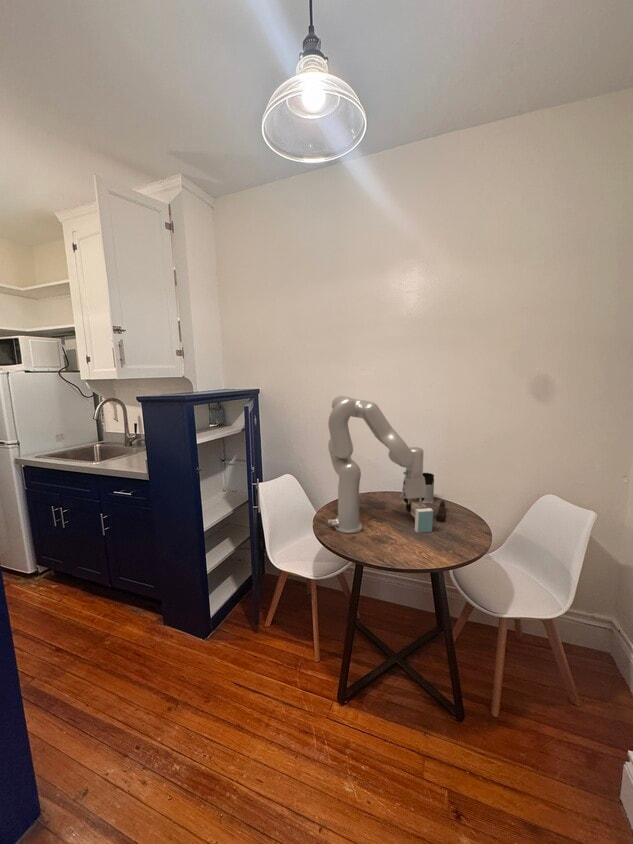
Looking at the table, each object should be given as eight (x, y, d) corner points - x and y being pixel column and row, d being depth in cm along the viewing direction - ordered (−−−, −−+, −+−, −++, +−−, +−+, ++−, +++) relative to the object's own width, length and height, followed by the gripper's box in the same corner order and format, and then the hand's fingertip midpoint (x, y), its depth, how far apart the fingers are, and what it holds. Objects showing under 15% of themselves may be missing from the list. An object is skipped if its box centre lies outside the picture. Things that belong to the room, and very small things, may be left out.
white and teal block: (417, 533, 141) (418, 511, 140) (414, 530, 144) (415, 509, 142) (432, 531, 143) (433, 510, 141) (429, 528, 145) (430, 508, 144)
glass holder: (436, 503, 174) (437, 477, 173) (409, 503, 176) (410, 476, 174) (431, 498, 183) (432, 472, 181) (406, 497, 184) (406, 472, 182)
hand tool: (444, 523, 151) (444, 514, 151) (435, 521, 153) (435, 512, 152) (448, 509, 168) (448, 500, 167) (440, 507, 170) (440, 499, 169)
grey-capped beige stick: (418, 520, 144) (418, 507, 143) (401, 505, 161) (401, 493, 161) (426, 520, 144) (427, 507, 144) (408, 505, 162) (409, 493, 161)
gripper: (400, 477, 145) (399, 515, 148) (435, 475, 148) (433, 512, 151) (394, 472, 153) (393, 509, 155) (426, 470, 156) (425, 506, 158)
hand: (413, 510), depth 153 cm, fingers closed on grey-capped beige stick, 4 cm apart
